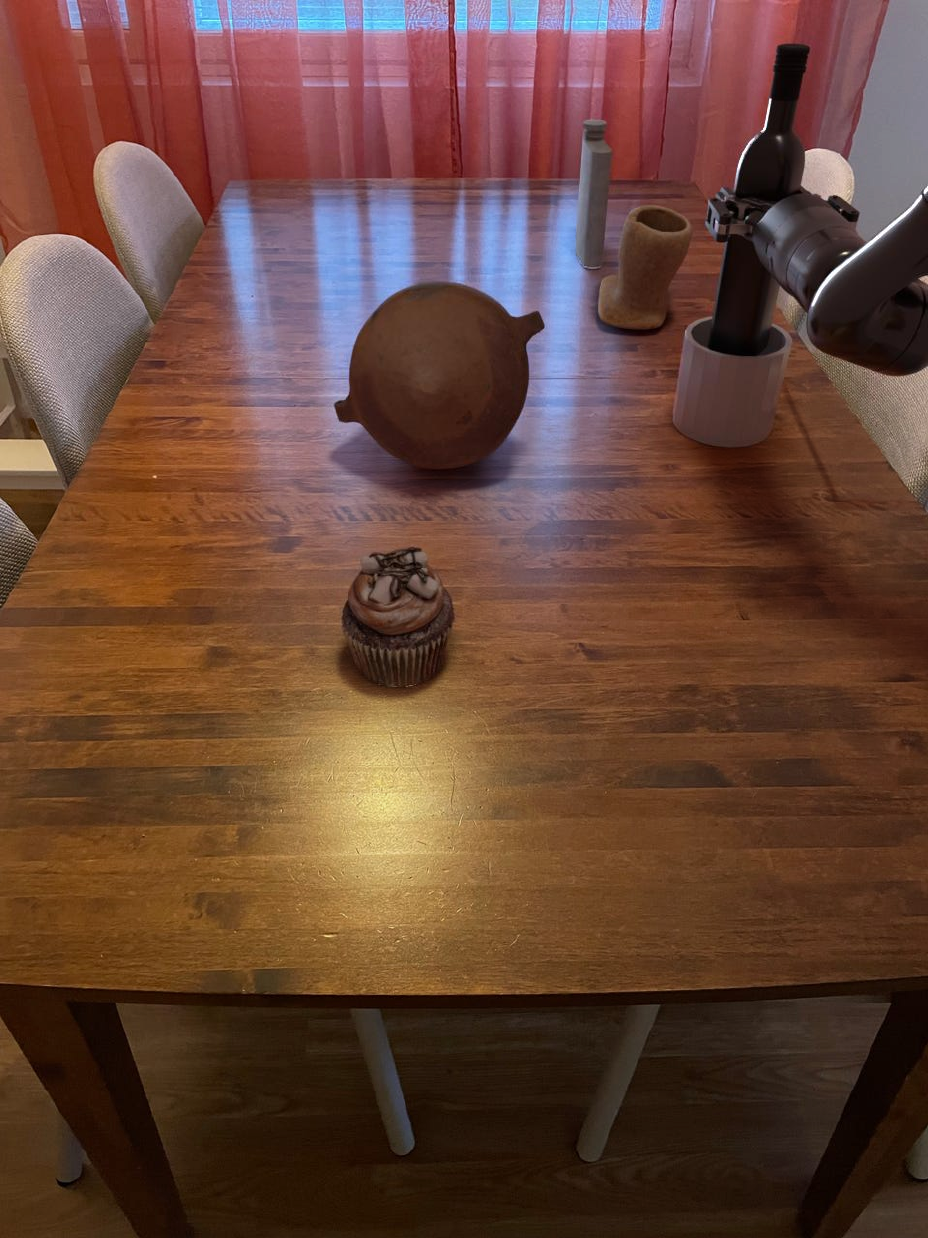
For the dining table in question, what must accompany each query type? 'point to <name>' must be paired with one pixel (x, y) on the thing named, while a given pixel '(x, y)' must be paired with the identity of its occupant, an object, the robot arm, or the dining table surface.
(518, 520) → the dining table surface
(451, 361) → the jug
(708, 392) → the cup
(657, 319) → the brown boot vase
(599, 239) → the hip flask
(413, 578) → the cupcake
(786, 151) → the wine bottle
